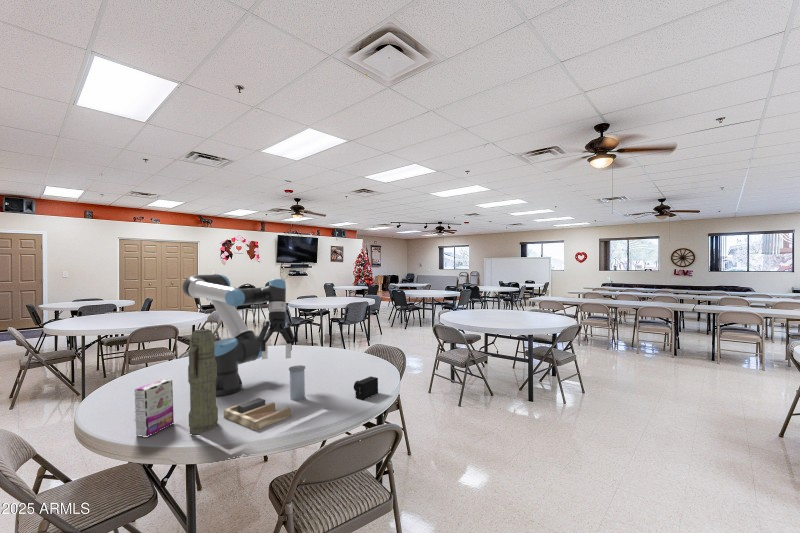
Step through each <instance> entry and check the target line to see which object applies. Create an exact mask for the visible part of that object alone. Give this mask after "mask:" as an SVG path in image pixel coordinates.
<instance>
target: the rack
mask: <svg viewBox="0 0 800 533" xmlns="http://www.w3.org/2000/svg"><path fill="white" fill-rule="evenodd" d="M257 398H258V397H256V398H253V399H251V400H248V401H245V402H242V403H239V404H236V405H234V406H233V405H232V406H230V407H227V408H224V409H223V418H225V419H226V420H229V421H231V422H234V423H236V424H239V425H241V426H244V427H246V428H248V429H251V430H253V431H259V430H260V429H263V428H265V427H267V426H270V425H272V424H275V423H277V422H280V421H281V420H284V419H287V418H290V417H291V416H292V409H291V407H285V408H283V409H280V410H278V411H277V410H276V402H273V401H272V402H270V403H267V404H265V405H264V406H261V407H259V408H256V409H253V410H250V411H248V412H245V413H242V414H241V413H238V405H240V404H243V403H246V402H249V401H252V400H254V399H257Z"/></svg>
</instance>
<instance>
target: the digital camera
mask: <svg viewBox="0 0 800 533" xmlns="http://www.w3.org/2000/svg"><path fill="white" fill-rule="evenodd" d="M353 390H354V392H355V399H356V398H357V400H361V401H364V399H365V400H366V398H367V399H368V397H369V398H371V397H373V396H376V395H377V394H379V378H378V377H376V376H368V377H366V378H363V379H360V380H356V381H355V382H354V383H353ZM372 395H373V396H372Z"/></svg>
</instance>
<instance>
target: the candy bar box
mask: <svg viewBox="0 0 800 533" xmlns="http://www.w3.org/2000/svg"><path fill="white" fill-rule="evenodd" d="M134 406H135V411H134V412H135V431H136V432H135V435H142V436H148V435H150V434H153V433H155V432H157V431H159V430H160V429H162V428H164V427H166V426H168V425H170V424H172V423H175V422H174V420H175V419H174V392H173V379H164V378H163V379H160V380H157V381H154V382H151V383H148V384H146V385H143V386H140V387H138V388H136V389H134ZM172 425H173V424H172ZM170 426H171V425H170ZM159 432H160V431H159ZM157 433H158V432H157ZM155 434H156V433H155Z"/></svg>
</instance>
